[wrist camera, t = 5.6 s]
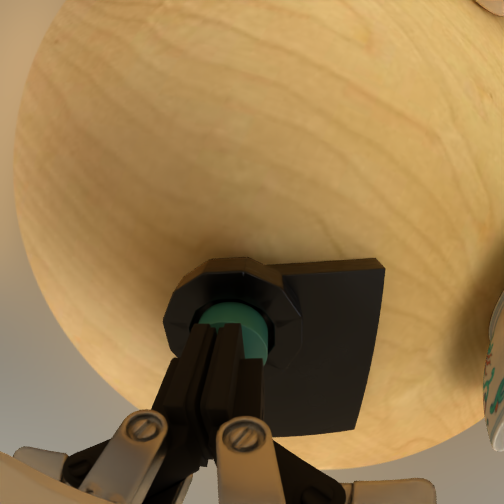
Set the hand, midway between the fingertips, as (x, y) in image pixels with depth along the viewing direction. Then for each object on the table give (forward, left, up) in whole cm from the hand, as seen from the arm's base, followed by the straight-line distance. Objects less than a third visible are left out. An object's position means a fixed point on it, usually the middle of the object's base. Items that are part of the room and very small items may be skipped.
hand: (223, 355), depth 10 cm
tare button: (0, 0, -2) cm, 2 cm away
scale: (+3, -4, -5) cm, 7 cm away
